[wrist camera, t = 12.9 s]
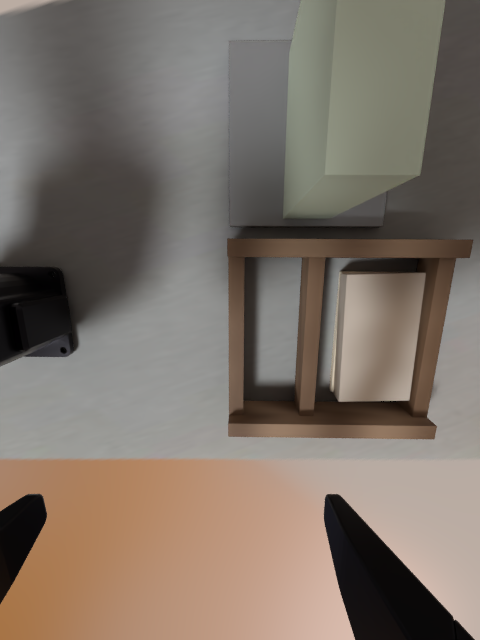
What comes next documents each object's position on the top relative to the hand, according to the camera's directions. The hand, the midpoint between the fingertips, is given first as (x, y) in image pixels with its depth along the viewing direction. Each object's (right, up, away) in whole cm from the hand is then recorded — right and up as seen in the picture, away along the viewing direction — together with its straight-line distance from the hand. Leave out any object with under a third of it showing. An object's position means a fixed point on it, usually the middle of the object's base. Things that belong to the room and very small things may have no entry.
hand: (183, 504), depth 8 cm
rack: (+8, +5, +11) cm, 15 cm away
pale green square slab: (+6, +17, +8) cm, 20 cm away
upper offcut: (+11, +5, +11) cm, 16 cm away
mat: (+6, +17, +8) cm, 20 cm away
